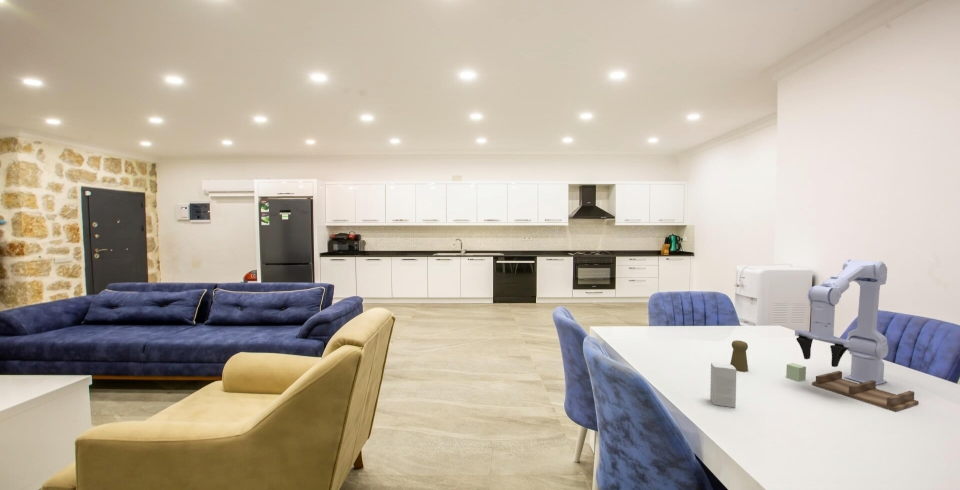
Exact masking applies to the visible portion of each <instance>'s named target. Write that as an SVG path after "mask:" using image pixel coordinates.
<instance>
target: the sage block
mask: <svg viewBox="0 0 960 490" xmlns="http://www.w3.org/2000/svg"><path fill="white" fill-rule="evenodd" d="M785 374H786V375H785V378H786V379H790V380H792V381H795V382H804V381H806V375H807V366H804V365H802V364H799V363H794V362H792V363H786V373H785Z"/></svg>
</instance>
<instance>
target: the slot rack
mask: <svg viewBox="0 0 960 490" xmlns="http://www.w3.org/2000/svg"><path fill="white" fill-rule="evenodd" d="M811 385H812V386H815V387H817V388H820V389H824V390H827V391H830V392H833V393H836V394H840V395H842V396H845V397H849V398H852V399H855V400H858V401H861V402H863V403H867V404H870V405H874V406H877V407H880V408H883V409H886V410H888V409H889V411H891V410H892V411H891V412H894V413H897V412H899V411H903V410H905V409H909V408H911V407H914V406H918V405H919V404H920V403H919V400H916V399H915V391H912V390H908V391H904V392H901V393H897V394H895V393H892V392H889V391H885V390H882V389H878V388H877V385H876V381H873V380H871V381H867V382H863V383H862V382H859V383H858V382H854V381H853V380H852V381H851V380H849V379H848V380H847V379H846V378H845V379H844V378H843V371H841V370H836V371H833V372H828V373H824V374H819V375H816V376H815V381H812V383H811Z"/></svg>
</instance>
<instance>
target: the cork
mask: <svg viewBox="0 0 960 490" xmlns="http://www.w3.org/2000/svg"><path fill="white" fill-rule="evenodd" d="M748 347H749V346H748V343H747V342H746V341H742V340H733V341H732V342H731V348H732V352H731V353H732V354H731V358H730V364H729V365H733V366H734V367H735V368H736V372H741V373H748V372H749V366H748V356H747V350H748V349H749V348H748Z"/></svg>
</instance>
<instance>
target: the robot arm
mask: <svg viewBox="0 0 960 490" xmlns="http://www.w3.org/2000/svg"><path fill="white" fill-rule="evenodd" d="M887 278H888V266H887V265H886V264H885V263H884V261H880V260H879V261H870V260H858V259H857V260H856V259H847V260H845V261H844V262H843V265H842V271H840V272H839V274H838V275H836V274H835V275H834V274H833V275H831V276H830V277H829V278H826V279H825V280H824V281H823V282H822V283H821V284H819V285H814V286H811V287H810V288H809V290H808V293H807V299H808V301H809V307H810V308H811V312H810V313H811V314H810V315H811V316H810V331H808V330H802V329H796V330H794V336H796V341H797V342H798V345H799V346H800V349H801V352H802V355H803V359H804V360H810V359H811V354H812V351H811V350H812V344H813V341H814V340H815V341H819V342H824V343H829V344H831V345H830V347H829V348H830V352H831V361H830V362H831V363H830V364H831V367H833V368H836V367H839V364H840V361H841V359H842V357H843V355H845V353H846V351H848V352H849V354H850V355H851V361H850V363H851V364H850V374H849V375H845V376H844V378H845V379H848V380H852V381H856V382H859V383H863V382H867V381H871V380H873V381H876V386H878V385H881V384H884V383H887V382H888V380H886V379H884V375H885V364H884V363H885V362H884V361H883V359H885V358H886V357H887V355H889V345H888V338H887V337H886V336H885V335H884V334H882V333H881V332H879V331H878V330H877V329H878V328H877V327H878V316H879V315H878V314H879V300H880V289H881V286H882V285H886V284H887ZM852 282H854V283H855V282H856V283H857V284H858V285H859V295H858V296H859V297H858V299H859V300H858V308H857V310H858V311H857V312H858V313H857V326H856V328H855V329H851V330H850V331H848V332H847V337H846V338H845V339H844V338H841V337H837V336H835V333H834V332H835V311H836V310H835V309H836V305H838V304H839V302H840V300H841V298H842V294H843V293H845V292H846V291H847V290H849V288H850V283H852Z"/></svg>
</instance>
